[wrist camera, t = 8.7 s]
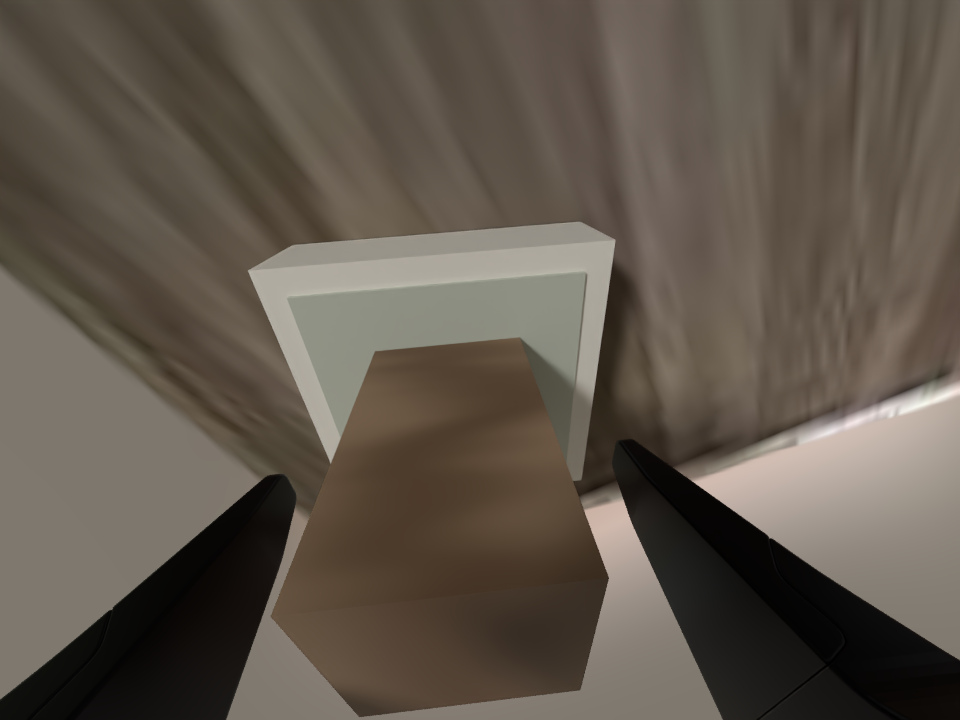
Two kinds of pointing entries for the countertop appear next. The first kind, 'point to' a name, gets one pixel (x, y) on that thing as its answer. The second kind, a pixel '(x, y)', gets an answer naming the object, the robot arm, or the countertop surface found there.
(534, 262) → the base slab
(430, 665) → the walnut block
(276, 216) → the countertop surface
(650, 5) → the countertop surface
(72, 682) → the robot arm
